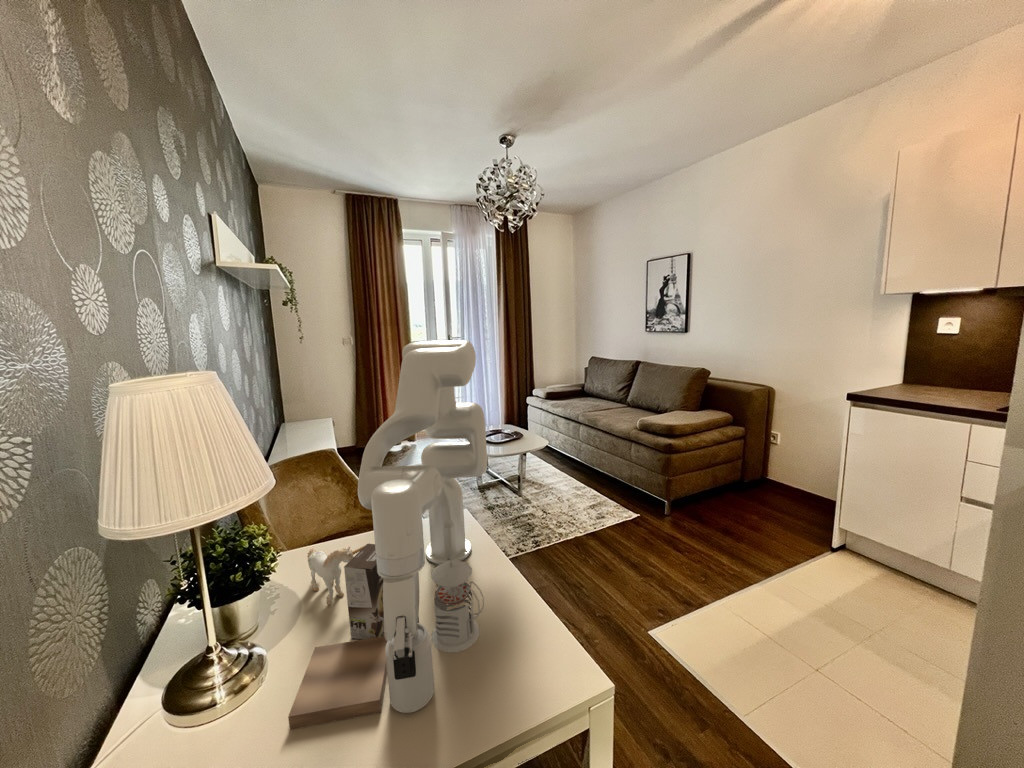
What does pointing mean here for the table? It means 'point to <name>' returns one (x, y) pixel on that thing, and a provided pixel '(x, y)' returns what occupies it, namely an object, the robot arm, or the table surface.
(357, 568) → the coffee box
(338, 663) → the riser
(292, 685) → the table surface
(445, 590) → the french press
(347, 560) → the unicorn figurine
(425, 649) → the can
